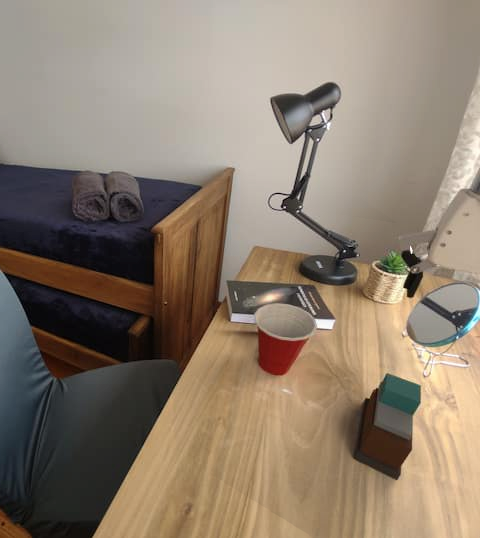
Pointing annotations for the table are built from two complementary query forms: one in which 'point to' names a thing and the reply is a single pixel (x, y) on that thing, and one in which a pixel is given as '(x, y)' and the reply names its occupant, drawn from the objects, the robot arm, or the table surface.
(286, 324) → the plastic cup
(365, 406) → the chocolate bar chunk
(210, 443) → the table surface
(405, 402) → the teal block
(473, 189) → the robot arm
